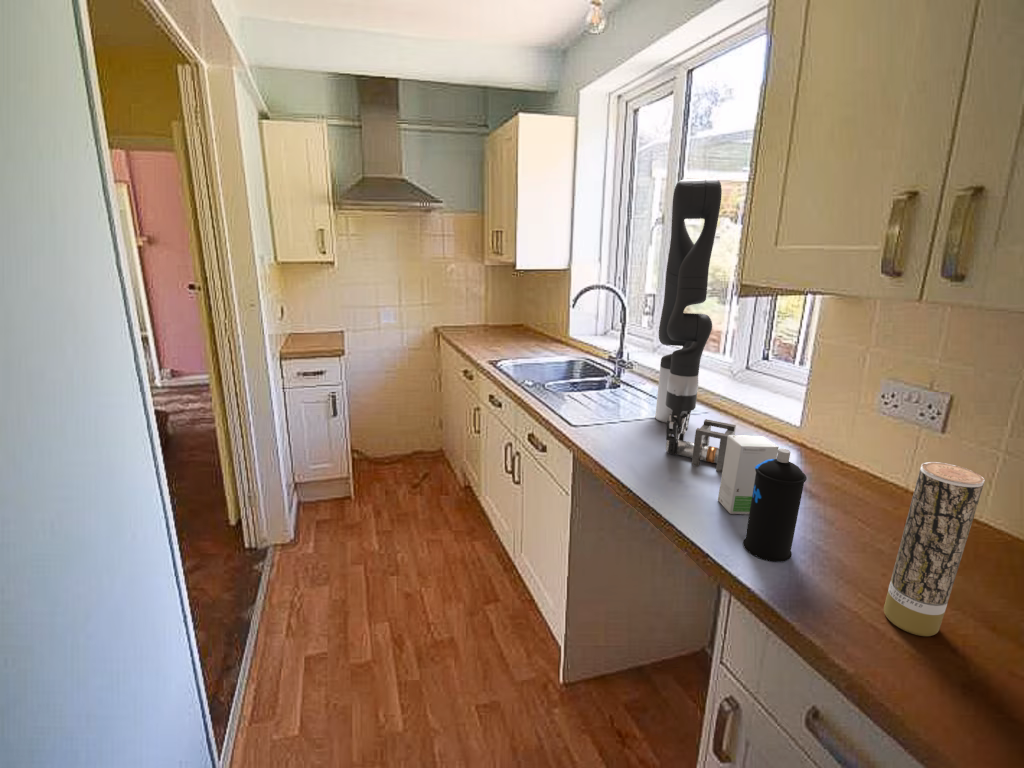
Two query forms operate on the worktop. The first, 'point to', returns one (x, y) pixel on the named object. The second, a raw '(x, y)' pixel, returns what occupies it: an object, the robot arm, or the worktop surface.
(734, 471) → the skincare box
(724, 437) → the frame
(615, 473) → the worktop surface
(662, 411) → the robot arm
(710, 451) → the silver cosmetic tube
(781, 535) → the aerosol can
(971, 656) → the worktop surface
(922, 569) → the paper tube
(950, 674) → the worktop surface
